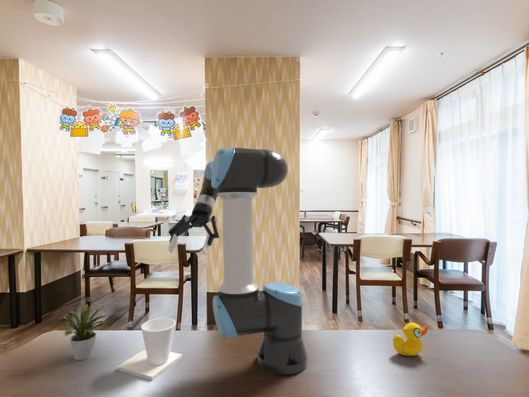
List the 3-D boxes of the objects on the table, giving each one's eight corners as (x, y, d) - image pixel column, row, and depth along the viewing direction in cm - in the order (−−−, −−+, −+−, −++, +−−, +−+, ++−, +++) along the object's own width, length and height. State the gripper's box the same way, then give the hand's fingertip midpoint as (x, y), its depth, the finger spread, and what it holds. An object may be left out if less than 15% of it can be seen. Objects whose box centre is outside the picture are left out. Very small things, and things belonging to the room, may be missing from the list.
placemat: (182, 357, 100) (182, 354, 100) (152, 380, 88) (152, 377, 88) (149, 349, 105) (149, 346, 105) (117, 370, 93) (117, 366, 93)
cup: (166, 370, 91) (166, 332, 91) (134, 367, 92) (134, 330, 92) (181, 353, 101) (180, 318, 100) (151, 350, 102) (151, 316, 102)
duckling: (421, 349, 106) (422, 319, 106) (432, 357, 101) (432, 326, 100) (389, 351, 104) (389, 321, 104) (398, 360, 99) (399, 328, 99)
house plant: (78, 374, 91) (77, 317, 90) (43, 365, 95) (42, 311, 95) (116, 350, 104) (116, 301, 104) (84, 344, 109) (83, 296, 108)
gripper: (234, 214, 132) (221, 258, 118) (179, 213, 138) (160, 255, 123) (230, 202, 127) (216, 246, 112) (172, 201, 132) (152, 243, 118)
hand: (186, 251), depth 118 cm, fingers open, 13 cm apart
